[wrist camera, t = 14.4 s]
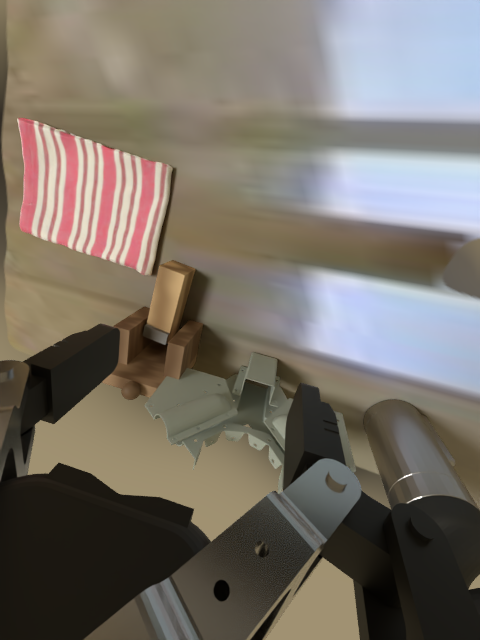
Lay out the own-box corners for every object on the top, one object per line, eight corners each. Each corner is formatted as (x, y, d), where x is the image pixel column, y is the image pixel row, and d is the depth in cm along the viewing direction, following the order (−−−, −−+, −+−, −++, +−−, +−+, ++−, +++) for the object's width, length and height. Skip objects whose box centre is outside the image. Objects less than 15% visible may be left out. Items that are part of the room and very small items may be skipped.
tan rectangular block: (195, 268, 45) (183, 276, 40) (178, 331, 50) (165, 345, 45) (173, 259, 45) (157, 266, 40) (157, 323, 50) (142, 335, 45)
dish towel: (32, 118, 41) (10, 110, 38) (177, 166, 40) (167, 162, 37) (32, 232, 48) (14, 233, 45) (156, 276, 47) (147, 281, 44)
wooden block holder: (203, 323, 48) (169, 365, 35) (195, 363, 51) (162, 414, 38) (143, 306, 49) (90, 340, 36) (140, 346, 52) (89, 391, 39)
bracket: (183, 367, 52) (123, 453, 33) (189, 334, 49) (127, 407, 31) (329, 410, 50) (351, 527, 31) (344, 378, 47) (377, 485, 28)
